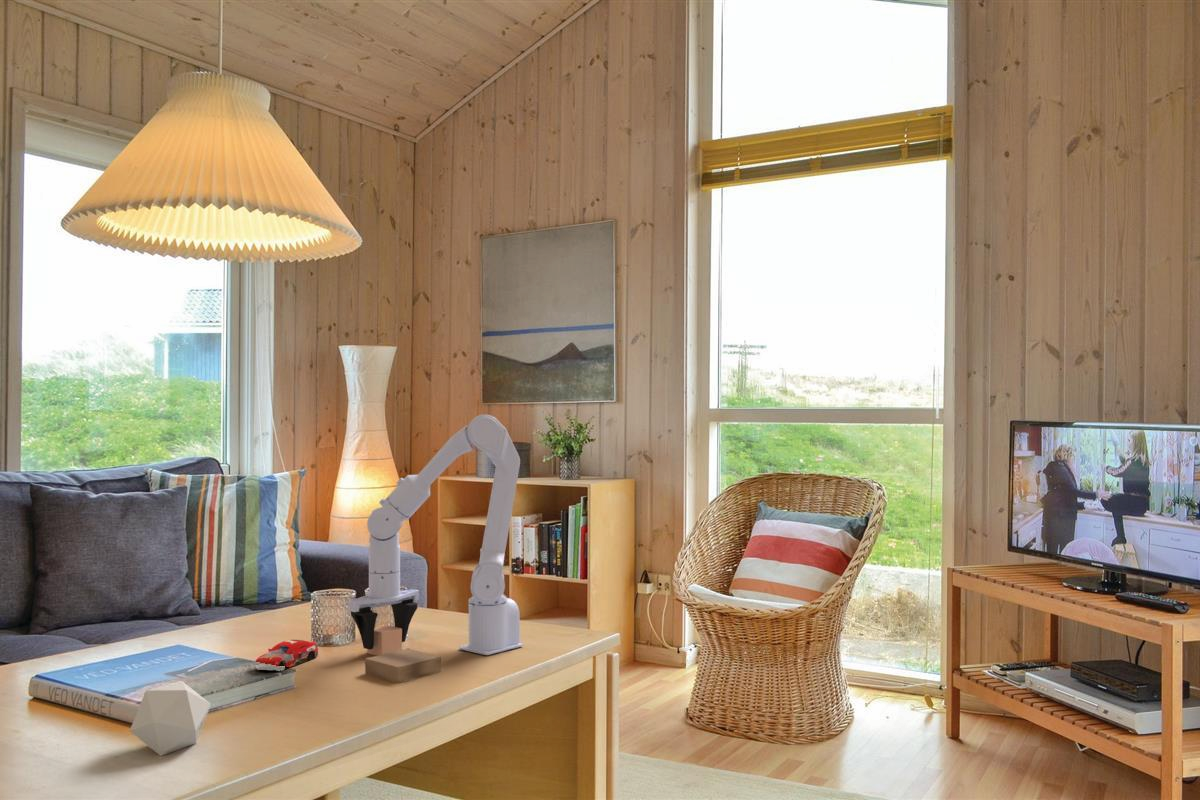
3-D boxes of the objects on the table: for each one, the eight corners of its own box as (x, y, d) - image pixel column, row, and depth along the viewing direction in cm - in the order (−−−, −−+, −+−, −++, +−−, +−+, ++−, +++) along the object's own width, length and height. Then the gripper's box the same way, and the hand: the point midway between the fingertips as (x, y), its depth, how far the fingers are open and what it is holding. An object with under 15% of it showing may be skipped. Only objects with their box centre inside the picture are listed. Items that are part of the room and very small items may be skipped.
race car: (272, 676, 159) (272, 653, 159) (247, 673, 161) (247, 650, 161) (323, 658, 171) (323, 636, 171) (300, 655, 173) (300, 633, 173)
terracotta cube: (387, 649, 177) (387, 625, 177) (401, 652, 174) (401, 628, 174) (367, 653, 174) (367, 629, 174) (381, 657, 171) (381, 632, 171)
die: (210, 758, 121) (228, 683, 128) (149, 739, 116) (171, 662, 122) (170, 770, 125) (190, 697, 132) (109, 753, 120) (133, 677, 126)
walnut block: (407, 665, 166) (407, 648, 166) (440, 674, 160) (440, 656, 160) (365, 676, 159) (365, 658, 159) (398, 685, 153) (398, 667, 153)
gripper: (402, 564, 182) (402, 634, 182) (338, 574, 171) (338, 648, 171) (425, 568, 178) (425, 640, 177) (361, 578, 167) (361, 654, 166)
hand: (384, 644), depth 174 cm, fingers open, 7 cm apart
